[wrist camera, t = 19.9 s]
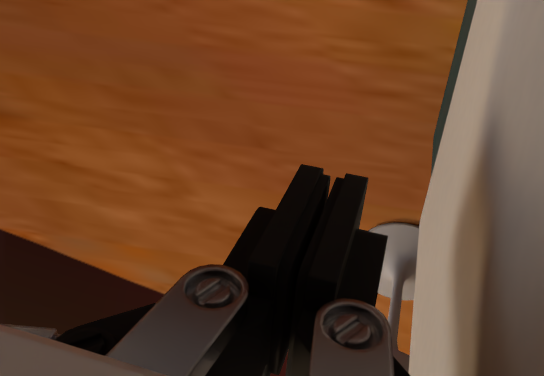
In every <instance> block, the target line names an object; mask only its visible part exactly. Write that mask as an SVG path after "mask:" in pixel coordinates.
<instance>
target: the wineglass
mask: <svg viewBox="0 0 544 376" xmlns="http://www.w3.org/2000/svg"><path fill="white" fill-rule="evenodd" d="M369 231H370V232H374V233H379V234H383V235H387V236H388V240H387V245H386V251H385V256H384V261H383V267H382V272H381V278H380V283H379V288H378V293H379V294H381V295H383V296H386V297H389V298H391V302H390V309H389V316H388V322H389V325H390V328H391V332H392V347H393V356H394V357H395V359H396V360H397V361H398V362H399V363H400V364H401V365H402V367H403V368H404V369H405V370H406V371H407V372H408V373H409V359H410V356H409V355H407V354H405V353H403V352H401V351H399V350H398V345H397V335H398V326H399V318H400V309H401V300H414V292H415V279H416V265H417V252H418V238H419V226H416V225H412V224H408V223H388V224H382V225H380V226H377V227H375V228H372V229H371V230H369Z"/></svg>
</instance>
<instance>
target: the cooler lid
mask: <svg viewBox="0 0 544 376" xmlns="http://www.w3.org/2000/svg"><path fill="white" fill-rule="evenodd" d="M409 375H410V376H544V0H477V4H476V8H475V11H474V15H473V19H472V23H471V27H470V31H469V34H468V38H467V42H466V46H465V50H464V54H463V58H462V61H461V65H460V69H459V73H458V77H457V81H456V84H455V88H454V92H453V96H452V100H451V104H450V108H449V111H448V115H447V119H446V123H445V127H444V131H443V134H442V138H441V142H440V146H439V150H438V154H437V157H436V161H435V165H434V169H433V173H432V177H431V181H430V184H429V188H428V192H427V196H426V200H425V204H424V207H423V211H422V215H421V219H420V225H419V238H418V252H417V265H416V279H415V292H414V306H413V319H412V333H411V346H410V359H409Z"/></svg>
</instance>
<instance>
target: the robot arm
mask: <svg viewBox="0 0 544 376" xmlns="http://www.w3.org/2000/svg"><path fill="white" fill-rule="evenodd" d="M367 183H368V178H367V177H362V176H357V175H352V174H347V173H346V175H345V178H344V179H343V178H338V177H336V180H335V182H334V185H333V187H332V190H331V192H330V195H329V197H328V192H329V185H330V176H328V175H323V168H318V167H313V166H308V165H303V164H301V166H300V167H299V169H298V171H297V173H296V175H295V176H294V178H293V180H292V182H291V184H290V185H289V187H288V189H287V191H286V193H285V194H284V196H283V198H282V200H281V202H280V204H279V205H278V207H277V209H276V210H273V209H268V208H264V207H259V208H258V209H257V210H256V212H255V213H254V215H253V217H252V218H251V220H250V221H249V223H248V225H247V226H246V228H245V230H244V231H243V233H242V234H241V236H240V238H239V239H238V241H237V243H236V244H235V246H234V248H233V249H232V251H231V252H230V254H229V256H228V257H227V259H226V261H225V262H224V264H223V265H214V264H210V265H204V266H199V267H197V268H194V269H192V270H190V271H189V272H187V273H186V274H185V275H183V276H182V277H181V278H180V279H179V280H178V281H177V282H176V283H175V284H174V286H173V287H172V288H171V289H170V290H169V291H168V292H167V293H166V294H165V295H164V296H163V297H162V298H161V299H160V300H159V301H158V302H157V303H154V304H150V305H147V306H144V307H140V308H137V309H134V310H131V311H127V312H124V313H120V314H117V315H114V316H111V317H107V318H104V319H100V320H97V321H94V322H91V323H87V324H84V325H81V326H78V327H75V328H73V329H70V330H68V331H66V332H65V333H63V334H62V335H57V331H56V329H53V328H42V327H30V326H19V325H8V324H0V376H270V374H271V373H273V374H276V375H279V373H280V371H281V368H282V366H283V363H284V360H285V357H286V355H287V352H288V359H287V368H286V376H410V375H409V373H408V372H407V371H406V370H405V369H404V368H403V367H402V365H401V364H400V363H399V362H398V361H397V360H396V359H395V357H394V356H393V347H392V332H391V328H390V325H389V322H388V320H387V319H386V318H385V316H384V315H383V314H382V313H381V312H380V311H379V310H378V309H376V308H375V304H376V299H377V294H378V288H379V283H380V278H381V272H382V267H383V261H384V256H385V251H386V245H387V240H388V236H387V235H383V234H379V233H374V232H370V231H365V230H361V229H359V225H360V220H361V215H362V210H363V205H364V199H365V194H366V189H367ZM288 349H289V351H288Z"/></svg>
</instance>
